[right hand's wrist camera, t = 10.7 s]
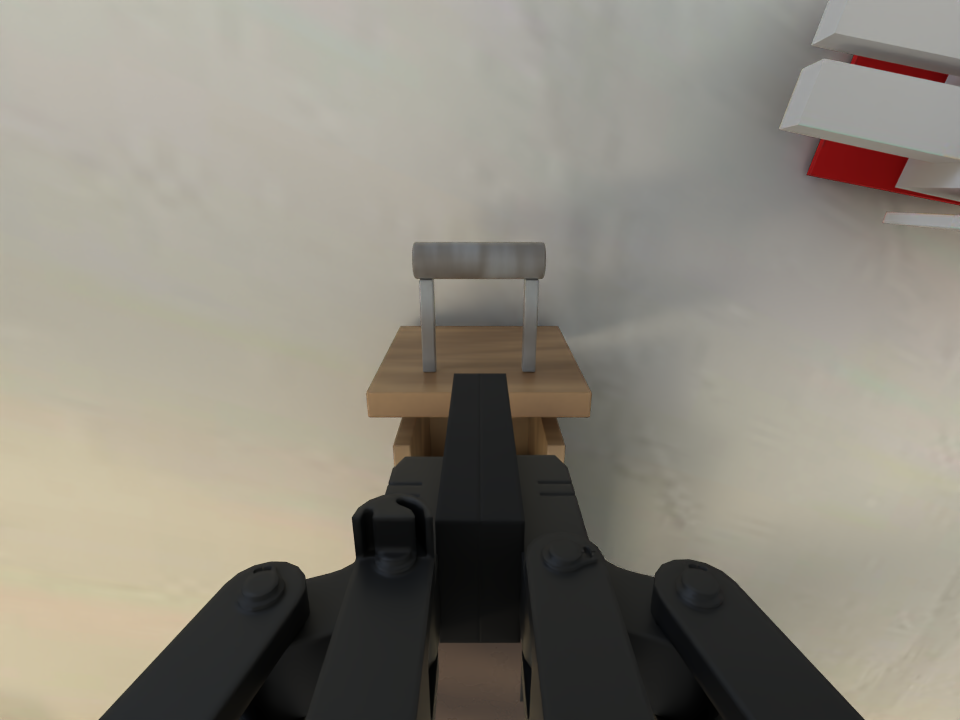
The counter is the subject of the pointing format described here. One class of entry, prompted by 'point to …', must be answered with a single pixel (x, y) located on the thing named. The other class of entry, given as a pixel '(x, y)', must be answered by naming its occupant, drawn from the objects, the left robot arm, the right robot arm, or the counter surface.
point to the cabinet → (479, 681)
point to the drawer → (478, 356)
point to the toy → (886, 101)
